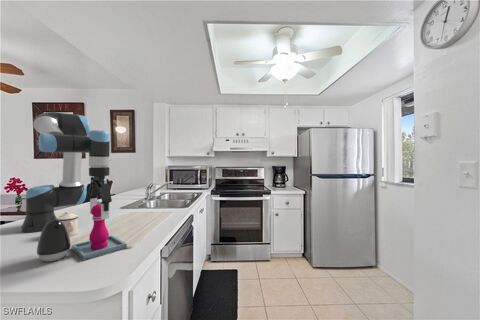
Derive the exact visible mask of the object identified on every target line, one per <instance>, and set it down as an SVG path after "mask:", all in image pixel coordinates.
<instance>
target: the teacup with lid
mask: <svg viewBox="0 0 480 320" xmlns="http://www.w3.org/2000/svg"><path fill="white" fill-rule="evenodd" d="M56 220H60V221H62V222H63V224H64V225H65V227H66V229H67V231H68V234H69V237H72V236H75V235H76V234H78V233H79V231H78V230H79V215H78V214H74V213H73V212H72V213H71V212H70V211H64V213H63V214H61V215H59V216H56Z"/></svg>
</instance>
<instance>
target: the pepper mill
mask: <svg viewBox="0 0 480 320" xmlns="http://www.w3.org/2000/svg"><path fill="white" fill-rule="evenodd" d="M101 202H102V200H97V205H95V206H93V207H92V209H91V215H92V220H93V227H92V229H91V231H90V234H89V238H88V239H89V240H88V241H91V242H92V243H91V249H93V250H98V249H103V248H105V247H107V246H108V241H106V240H107V239H108V238H109V236H110V233H109V230H108V228H107V226H106V219H103V220H102V219H101Z"/></svg>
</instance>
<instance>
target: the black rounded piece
mask: <svg viewBox="0 0 480 320" xmlns="http://www.w3.org/2000/svg"><path fill="white" fill-rule="evenodd" d="M39 235H40V236H39V238H38V243H37V248H36V254H37V255H38V258H39V259H40V260H41V261H43V262H55V261H59V260H61V259H63V258H64V257H65V256H67V255H68V253H69V250H70V248H72V243H71V239H70V237H71V236H69V234H68V231H67V229H66V227H65V225H64V224H63V222H62V221H60V220H52V221H49V222H48V223H47V224H46V225H45V227H44V228H43V230H42V231H40V234H39Z"/></svg>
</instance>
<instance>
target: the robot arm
mask: <svg viewBox="0 0 480 320" xmlns="http://www.w3.org/2000/svg"><path fill="white" fill-rule="evenodd" d="M32 126H33V128H34V130H35V131H36V132H37V133H39V136H38V148H39V149H38V150H39V151H40V152H42V153H51V154H52V153H63V159H62V160H63V162H62V180H61V181H60V182H59V184H58V186H55V185H54V184H45V185H39V186H38V185H37V186H34V187H30V188H28V189H27V190H26V191H25V217H24V220H23V222H22V224H21V232H23V233H38V232H42V230H43V228H44V227H45V225H46V224H47V223H48V222H49V221H52V220H56V218H57V216H56V214H55V208H59V207H60V208H61V207H70V206H77V205H81V204H83V203H84V202H85V200H86V198H87V195H88V197H89V213H90V214H91V209H92V207H93V206H95V205H98V204H97V202H98V198H99V196H98V195H100V200H101V219H102V220H103V219H105V220H107V219H110V203H112V202H113V200H112V194H111V190H110V181H109V178H106V177H108V176H110V167H109V166H110V161H111V158H110V150H111V149H110V146H111V145H110V143H111V139H110V133H109V131H107V130H91V127H90V122H89V119H88V118H87V117H86V115H80V114H72V113H65V112H56V111H49V112H48V111H47V112H44V113H41V114H39V115H37V116H36V117H34V118H33V121H32ZM87 153H88V166H89V168H88V176H89V177H90V184H89V189H88V188H87V186H86V185H85V184H84V182H83V181H82V180H81V176H82V156H83V154H87ZM87 189H88V194H87ZM98 193H99V194H98ZM91 215H92V214H91Z"/></svg>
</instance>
